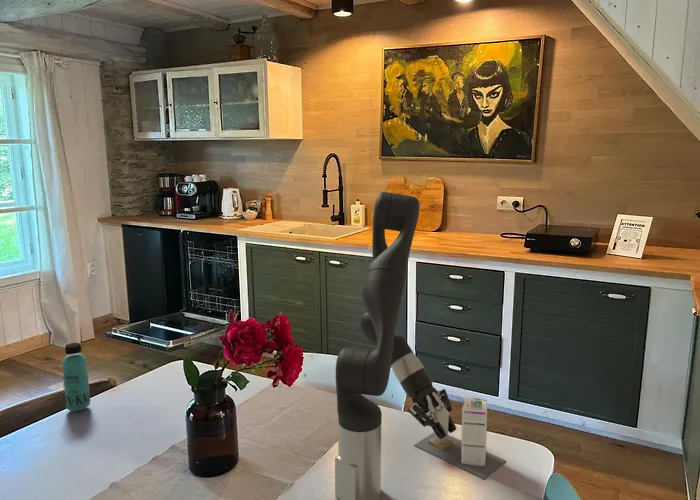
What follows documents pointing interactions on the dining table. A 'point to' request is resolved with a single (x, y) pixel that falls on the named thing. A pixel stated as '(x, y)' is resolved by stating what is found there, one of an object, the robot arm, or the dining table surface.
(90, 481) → the dining table surface
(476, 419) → the syrup box
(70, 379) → the beverage bottle
